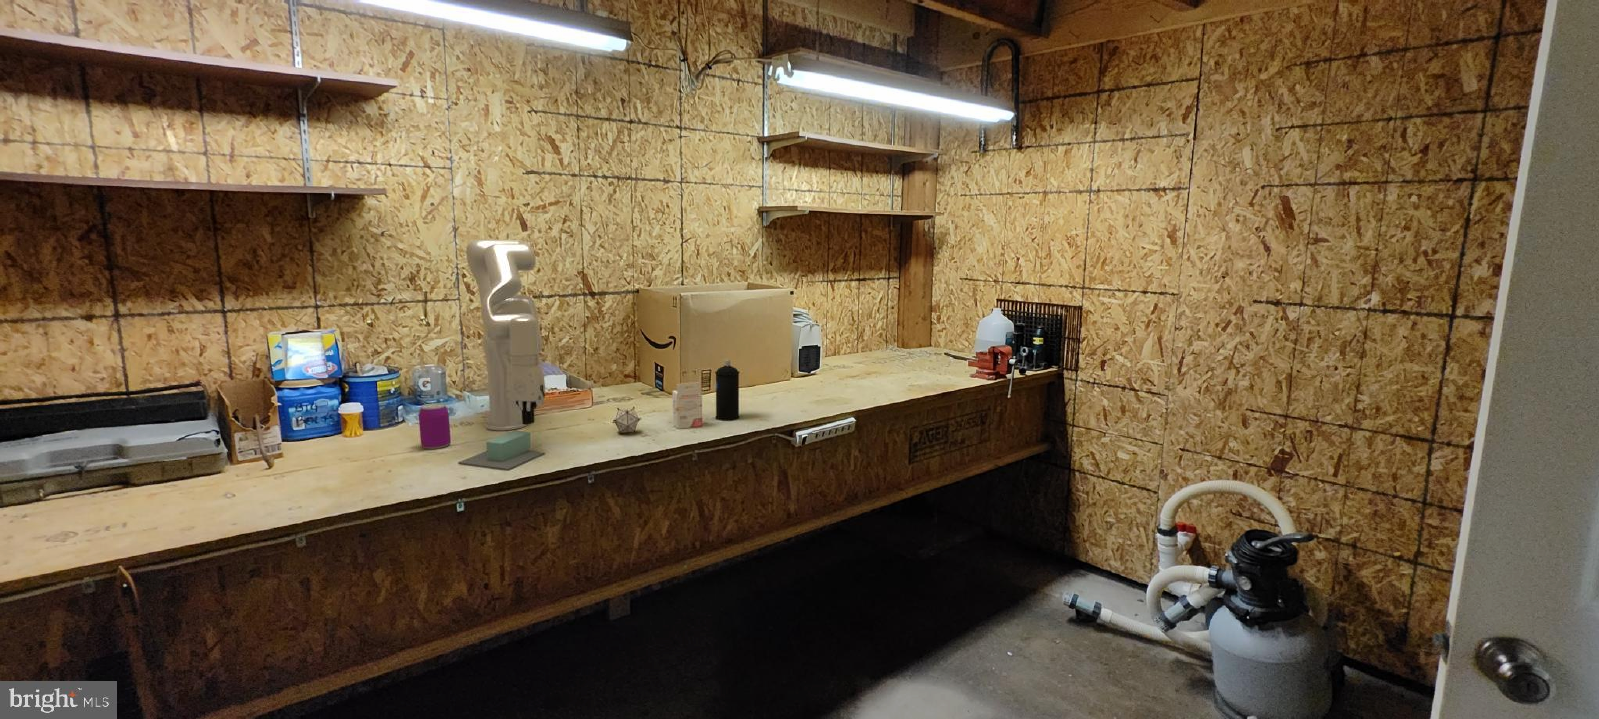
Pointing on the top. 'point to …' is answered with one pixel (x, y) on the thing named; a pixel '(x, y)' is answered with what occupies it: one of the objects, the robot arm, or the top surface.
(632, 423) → the game die
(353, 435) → the top surface
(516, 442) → the teal block
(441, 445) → the beverage can
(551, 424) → the top surface
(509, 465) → the mat
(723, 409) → the aerosol can
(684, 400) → the ink cartridge box
